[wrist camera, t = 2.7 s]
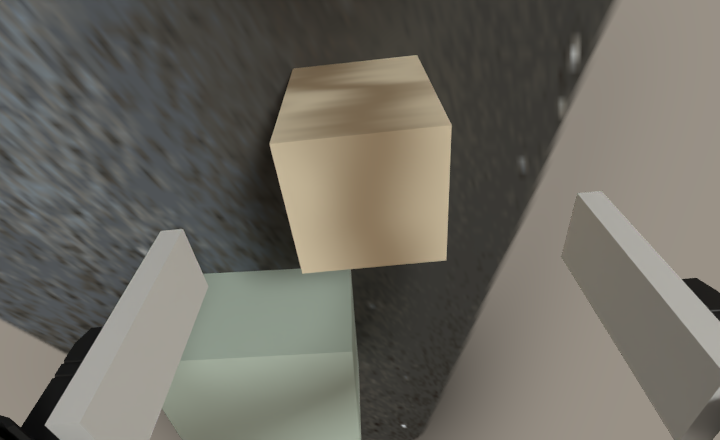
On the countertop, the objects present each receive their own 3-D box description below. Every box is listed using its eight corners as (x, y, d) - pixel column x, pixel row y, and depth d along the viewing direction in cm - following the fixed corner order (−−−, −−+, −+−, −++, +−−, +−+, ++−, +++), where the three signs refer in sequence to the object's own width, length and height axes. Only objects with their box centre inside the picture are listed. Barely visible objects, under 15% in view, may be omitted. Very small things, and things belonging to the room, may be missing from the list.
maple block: (313, 174, 24) (302, 273, 17) (293, 68, 20) (269, 143, 14) (418, 164, 23) (446, 260, 17) (416, 55, 20) (451, 125, 13)
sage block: (218, 373, 35) (195, 460, 30) (174, 273, 28) (133, 363, 23) (358, 366, 35) (361, 452, 30) (350, 263, 28) (352, 351, 23)
